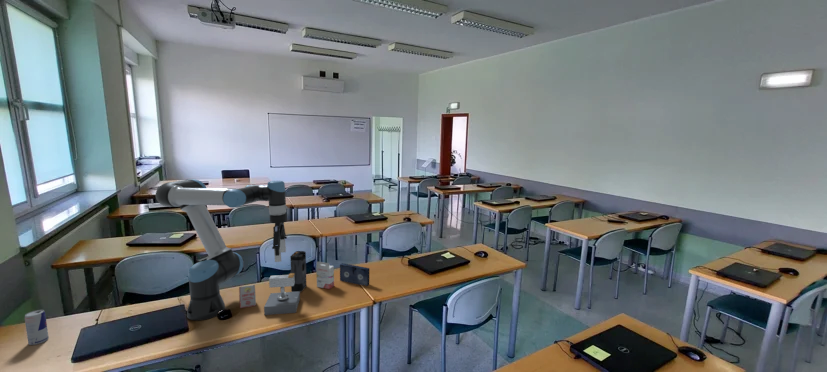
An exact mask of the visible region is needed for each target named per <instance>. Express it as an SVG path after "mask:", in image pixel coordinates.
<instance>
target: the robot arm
mask: <svg viewBox="0 0 827 372" xmlns="http://www.w3.org/2000/svg"><path fill="white" fill-rule="evenodd" d="M155 199H156V201H157V202H158V204H159V205H162V206H164V207H166V208H167V207H169V208H171V207H175V208H176V207H178V208H179V209H180V211H182V212H184V213H186V215H187V216H188V218H189V220H190V222H191V224H192V226H193V229H194V231H195V232H196V234H197V236H198V238H199V239H200V242H201V244H202V245H203V248H204V250H205V252H206V253H207V255H208V256H207V257H206V259H205V260H203V261H198V262H196V263H194V264H193V265H192V266H190V268H189V269H188V285H189V286H188V287H189V293H190V294H189V296H190V297H189V298H190V300H189V303H188V306H187V310H186V316H187V319H189V320H190V321H204V320H209V319H212V318H215V317H217V316H218V315H217V314H218V312H219V311H221V310H224V309H226V304H225V302H224V300H223V297H222V296H221V291H220V285H221V284H223V283H225V282H228V281H229V280H231V279H233V278H235V277H236V276H237V275H238V274H240V273H241V272H242V270H243V267H244V261H243V257H242V256H241V255H240V254H239V253H237V252H234V251H233V249H232V248H231V247H228V246H227V245H226V243H225V241H224V239H223V237H222V235H221V233H220V231H219V229H218V228H217V226H216V223H215V222H214V220H213V218H212V215H211V214H210V212H209V210H208V207H207V206H227V207H228V208H232V209H233V208H240V207H242V206H245V205H249V204H252V203H256V202H268V214H269V222H270V223H271V224H274V226H273V230H272V231H273V236H272V238H273V239H272V241H273V242H272V247H271V249H272V250H273V253H274V262H275V263H279V262H280V263H281V262H282V253H286V252H287V248H286V247H287V246H286V239H288V237H287V235H286V228H285V222H287V221H288V214H287V209H288V206H287V203H286V201H287V200H286V185H285V182H284V181H283V180H271V181H270V180H269V181H268V182H267V185H266V184H265V185H264V184H263V185H262V184H247V185H246V186H245V187H240V188H216V187H215V188H213V187H212V188H211V187H209V188H207V186H206V185H205V183H203V182H202V181H201V180H199V179H194V178H192V179H188V178H187V179H183V180H176V181H169V182H168V181H167V182H165V183H163V184H161V185H160V186H159V187H158V188H157V189H156V191H155ZM224 311H225V310H224Z"/></svg>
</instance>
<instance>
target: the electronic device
mask: <svg viewBox="0 0 827 372" xmlns="http://www.w3.org/2000/svg"><path fill="white" fill-rule="evenodd" d="M306 254H307V253H306V251H304V250H298V251H297V250H296V251H295V252H294V253H292V254H291V255H290V257H289V258H290V259H289V260H290V273H295V284H294V286H290V287H291V288H290V292H298V291H300V293H302V291H304V290H305V288H307V257H306V256H307V255H306Z"/></svg>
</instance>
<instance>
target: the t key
mask: <svg viewBox="0 0 827 372" xmlns="http://www.w3.org/2000/svg"><path fill="white" fill-rule="evenodd" d="M268 282H269V283H268V284H269V285H268V286H269V288H280V293H281V295H279V296H278V297H277V299H278V300H286V299H288V295H287V294H285V292H286V291H285V287H291V286H294V284H295V273H291V272H290V273H288V274H282V275H281V274H280V275H270V277H269V279H268Z"/></svg>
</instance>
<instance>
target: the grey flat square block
mask: <svg viewBox="0 0 827 372" xmlns="http://www.w3.org/2000/svg"><path fill="white" fill-rule="evenodd" d="M285 294H287V295H288V299H286V300H278V299H277V297H278V296H279V295H281V292H272V293H271V292H270V294H269V296H268V298H267V300H266V302H265V305H263V311H264V312H263V313H264V316H270V315H281V314H283V315H284V314H295V313H297V311H298V307H299V303H300V299H301V292H300V291H298V292H292V291H288V292H286V291H285Z"/></svg>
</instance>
